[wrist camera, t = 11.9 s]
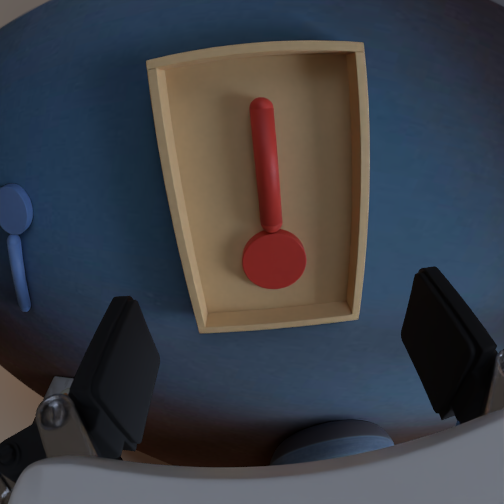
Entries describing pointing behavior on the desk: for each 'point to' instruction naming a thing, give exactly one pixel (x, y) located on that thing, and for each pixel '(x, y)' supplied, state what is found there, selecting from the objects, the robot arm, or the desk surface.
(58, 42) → the desk surface
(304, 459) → the vase
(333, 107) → the oak tray
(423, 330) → the robot arm
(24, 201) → the blue spoon
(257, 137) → the red spoon
